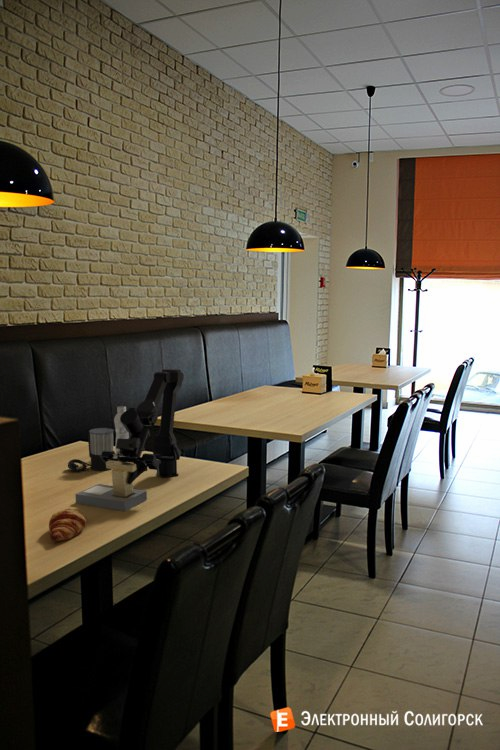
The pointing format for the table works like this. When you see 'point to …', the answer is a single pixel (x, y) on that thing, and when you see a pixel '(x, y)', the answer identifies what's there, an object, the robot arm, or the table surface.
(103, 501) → the board
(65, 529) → the croissant
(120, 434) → the plastic bottle
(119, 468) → the t key
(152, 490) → the table surface
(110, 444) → the milk frother
